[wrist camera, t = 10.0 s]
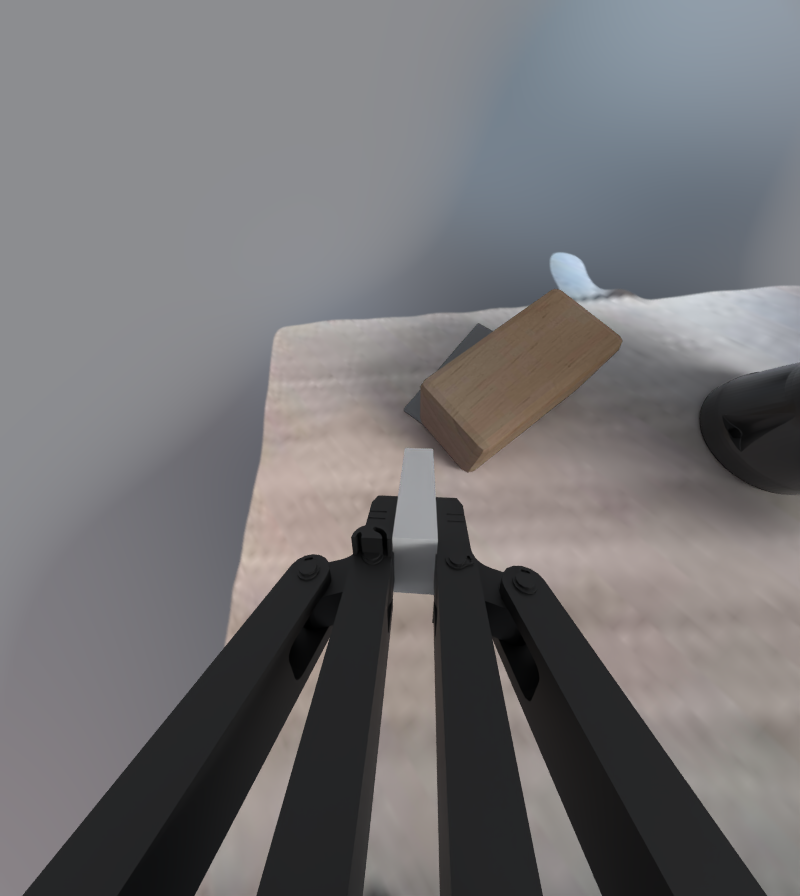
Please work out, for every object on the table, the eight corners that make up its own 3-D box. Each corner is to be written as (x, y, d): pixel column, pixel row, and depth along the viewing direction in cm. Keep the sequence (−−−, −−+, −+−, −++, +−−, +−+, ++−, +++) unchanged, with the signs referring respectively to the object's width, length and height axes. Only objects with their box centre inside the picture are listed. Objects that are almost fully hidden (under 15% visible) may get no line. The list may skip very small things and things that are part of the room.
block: (416, 380, 29) (557, 281, 32) (416, 420, 38) (525, 341, 41) (484, 454, 26) (631, 338, 29) (466, 477, 35) (578, 388, 38)
